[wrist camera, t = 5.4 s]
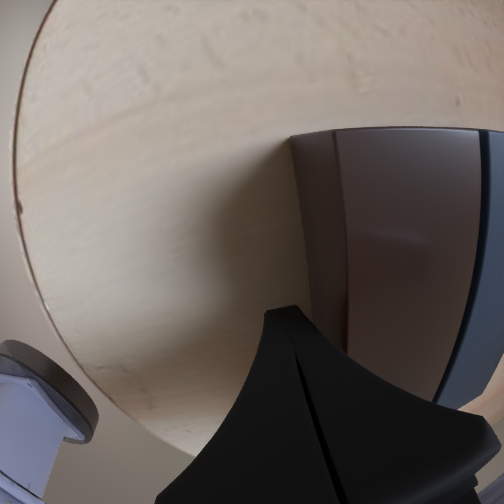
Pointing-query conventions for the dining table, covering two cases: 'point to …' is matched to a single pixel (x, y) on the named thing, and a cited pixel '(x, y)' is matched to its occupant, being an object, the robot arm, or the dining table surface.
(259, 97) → the dining table surface
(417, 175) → the walnut bar
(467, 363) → the slate bar
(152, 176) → the dining table surface
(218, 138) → the dining table surface
